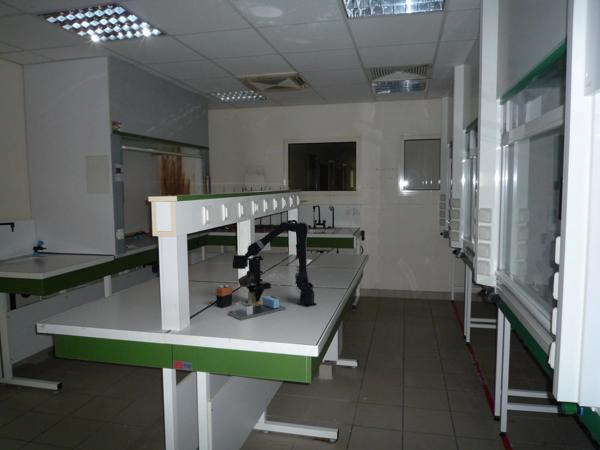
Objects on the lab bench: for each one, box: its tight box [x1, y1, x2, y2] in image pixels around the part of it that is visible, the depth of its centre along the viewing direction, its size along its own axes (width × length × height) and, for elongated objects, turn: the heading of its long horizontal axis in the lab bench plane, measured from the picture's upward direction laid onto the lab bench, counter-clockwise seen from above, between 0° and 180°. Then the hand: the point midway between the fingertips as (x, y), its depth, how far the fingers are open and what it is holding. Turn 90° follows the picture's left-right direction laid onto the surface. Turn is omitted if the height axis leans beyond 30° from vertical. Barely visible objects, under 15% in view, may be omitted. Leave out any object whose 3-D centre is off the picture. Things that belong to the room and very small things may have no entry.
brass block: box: [247, 291, 263, 306], centre depth 203 cm, size 6×4×6 cm, turn 130°
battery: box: [215, 284, 233, 309], centre depth 200 cm, size 4×7×10 cm, turn 145°
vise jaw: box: [262, 295, 280, 308], centre depth 194 cm, size 4×9×4 cm, turn 40°
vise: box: [227, 301, 287, 321], centre depth 189 cm, size 24×11×5 cm, turn 130°
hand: (255, 300), depth 203 cm, fingers closed on brass block, 3 cm apart
